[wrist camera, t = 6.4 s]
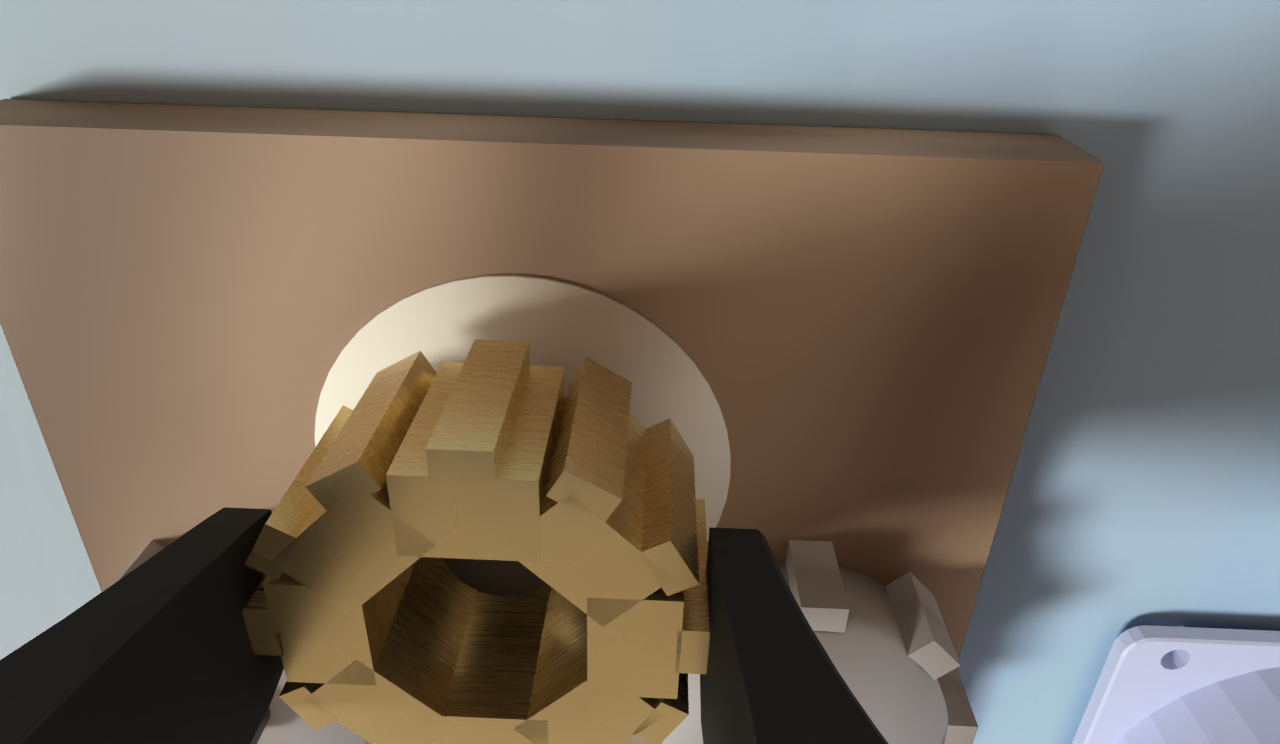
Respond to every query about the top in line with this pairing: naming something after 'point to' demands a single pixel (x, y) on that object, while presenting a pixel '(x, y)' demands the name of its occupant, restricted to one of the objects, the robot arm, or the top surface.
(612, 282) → the gear board
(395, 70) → the top surface
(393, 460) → the brass gear
